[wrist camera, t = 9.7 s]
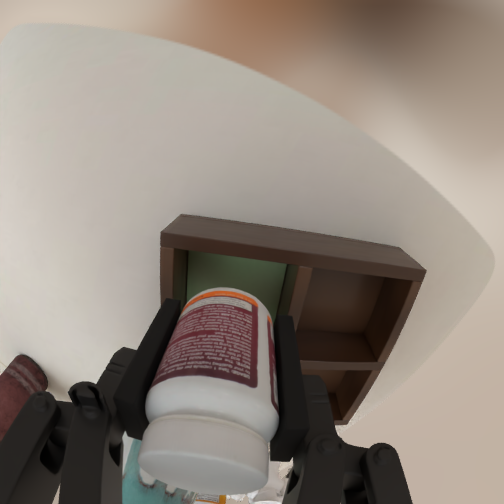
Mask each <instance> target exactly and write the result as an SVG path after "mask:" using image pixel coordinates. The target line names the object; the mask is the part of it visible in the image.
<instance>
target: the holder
mask: <svg viewBox="0 0 504 504" xmlns="http://www.w3.org/2000/svg"><path fill="white" fill-rule="evenodd" d="M160 246H161V247H160V293H161V306H162V304H163V302H164V301H165V299H166V298H171V299H176V300H181V312H182V310H183V308H184V306H185V305H186V304H187V302H188V301H189V300H190V299H191V298H192V297H194V296H195V295H197V294H199V293H201V292H202V291H205V290H208V289H212V288H219V287H223V288H234V289H238V290H241V291H244V292H247V293H249V294H251V295H253V296H255V297H256V298H257V299H258V300H259V301H260V302H261V303H262V304H263V305H264V306H265V307H266V309H267V310H268V312H269V314H270V316H271V319H272V322H273V329H274V327H275V323H276V318H277V314H280V315H289V316H293V322H294V328H295V333H296V339H297V345H298V352H299V358H300V364H301V370H302V375H319V376H320V377H321V379H322V380H323V381H324V383H325V384H326V388H327V392H328V397H329V403H330V406H331V410H332V415H333V419H334V424H335V425H347V424H348V422H349V421H350V419H351V418H352V416H353V415H354V413H355V412H356V410H357V409H358V407H359V406H360V404H361V403H362V401H363V400H364V398H365V397H366V395H367V393H368V392H369V390H370V389H371V387H372V385H373V384H374V382H375V380H376V378H377V377H378V375H379V373H380V371H381V370H382V368H383V366H384V364H385V362H386V360H387V359H388V357H389V355H390V353H391V351H392V349H393V347H394V345H395V343H396V341H397V339H398V337H399V335H400V333H401V331H402V329H403V327H404V324H405V322H406V320H407V318H408V316H409V313H410V311H411V309H412V306H413V304H414V302H415V299H416V297H417V294H418V292H419V289H420V287H421V284H422V282H423V279H424V277H425V274H426V271H427V270H426V269H424V268H423V267H422V266H421V265H420V264H419V263H417V262H416V261H415V260H414V259H413V258H412V257H410V256H409V255H408V254H407V253H405V252H404V251H403V250H402V249H401V248H399V247H394V246H388V245H383V244H377V243H372V242H366V241H360V240H355V239H349V238H343V237H337V236H331V235H325V234H319V233H312V232H306V231H300V230H293V229H287V228H280V227H273V226H266V225H259V224H252V223H245V222H238V221H231V220H223V219H216V218H208V217H200V216H192V215H184V214H181V215H179V216H178V217H177V218H176V219H175V220H174V221H173V222H172V223H170V224H169V225H168V226H167V227H166V228H165V229H164V230H163V231H161V237H160Z"/></svg>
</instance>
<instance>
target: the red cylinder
mask: <svg viewBox="0 0 504 504" xmlns="http://www.w3.org/2000/svg"><path fill="white" fill-rule="evenodd" d="M47 386H48V382H47V378H46V376H45V374H44V373H43V371H42V370H41V369H40V367H39V366H38V365H37V364H36V363H35V362H34V361H33V360H31V359H30V358H29V357H27V356H25V355H17V356H16V357H15V359H14V360H13V361H12V362H11V363H10V364H9V366H8V367H7V368H6V369H5V370H4V372H3V373H2V374H1V375H0V442H1V441H2V439H3V437H4V436H5V434H6V432H7V431H8V429H9V427H10V426H11V424H12V423H13V421H14V419H15V418H16V416H17V415H18V413H19V412H20V410H21V409H22V407H23V406H24V404H25V403H26V401H27V400H28V398H29V397H30V396H31V395H32V394H33V393H35V392H37V391H45V390H46V389H47Z"/></svg>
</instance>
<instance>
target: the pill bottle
mask: <svg viewBox="0 0 504 504" xmlns="http://www.w3.org/2000/svg"><path fill="white" fill-rule="evenodd" d="M145 412H146V416H147V419H148V421H149V423H150V424H149V425H148V427H147V429H146V430H145V432H144V434H143V440H142V443H141V446H140V450H139V454H138V459H137V460H138V464H139V465H140V467H141V468H142V469H143V470H144V471H145V472H146V473H148V474H149V475H151V476H152V477H154V478H155V479H157V480H159V481H161V482H164V483H166V484H169V485H171V486H174V487H177V488H180V489H184V490H188V491H192V492H197V493H203V494H212V495H238V494H246V493H251V492H254V491H257V490H259V489H261V488H263V487H264V486H265V485H266V484H267V482H268V475H269V452H268V445H267V443H268V442H270V440H271V439H272V438H273V437H274V435H275V434H276V431H277V429H278V426H279V421H280V416H279V405H278V389H277V372H276V357H275V342H274V329H273V322H272V319H271V316H270V314H269V312H268V310H267V309H266V307H265V306H264V305H263V304H262V303H261V302H260V301H259V300H258V299H257V298H256V297H255V296H253V295H251V294H249V293H247V292H244V291H241V290H238V289H234V288H223V287H219V288H212V289H208V290H205V291H202V292H201V293H199V294H197V295H195V296H194V297H192V298H191V299H190V300H189V301H188V302H187V304H186V305H185V306H184V308H183V310H182V312H181V315H180V317H179V319H178V321H177V324H176V326H175V329H174V331H173V333H172V336H171V338H170V341H169V343H168V345H167V348H166V350H165V353H164V355H163V357H162V360H161V362H160V364H159V367H158V369H157V372H156V375H155V377H154V379H153V382H152V385H151V387H150V388H149V390H148V393H147V396H146V402H145Z"/></svg>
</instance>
